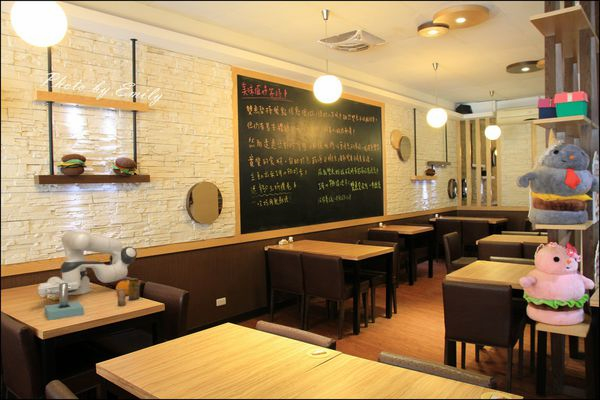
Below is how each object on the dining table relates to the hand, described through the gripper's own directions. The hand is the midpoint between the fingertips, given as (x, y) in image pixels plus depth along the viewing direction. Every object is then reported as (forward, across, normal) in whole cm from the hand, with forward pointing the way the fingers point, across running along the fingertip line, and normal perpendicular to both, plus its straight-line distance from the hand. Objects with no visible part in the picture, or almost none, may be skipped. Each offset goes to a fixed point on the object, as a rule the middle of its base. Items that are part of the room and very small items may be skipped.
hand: (60, 290), depth 241 cm
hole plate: (+12, 0, -11) cm, 16 cm away
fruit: (-15, -37, -12) cm, 42 cm away
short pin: (+12, -29, -12) cm, 33 cm away
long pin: (+12, 0, -11) cm, 16 cm away
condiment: (0, -39, -12) cm, 40 cm away
